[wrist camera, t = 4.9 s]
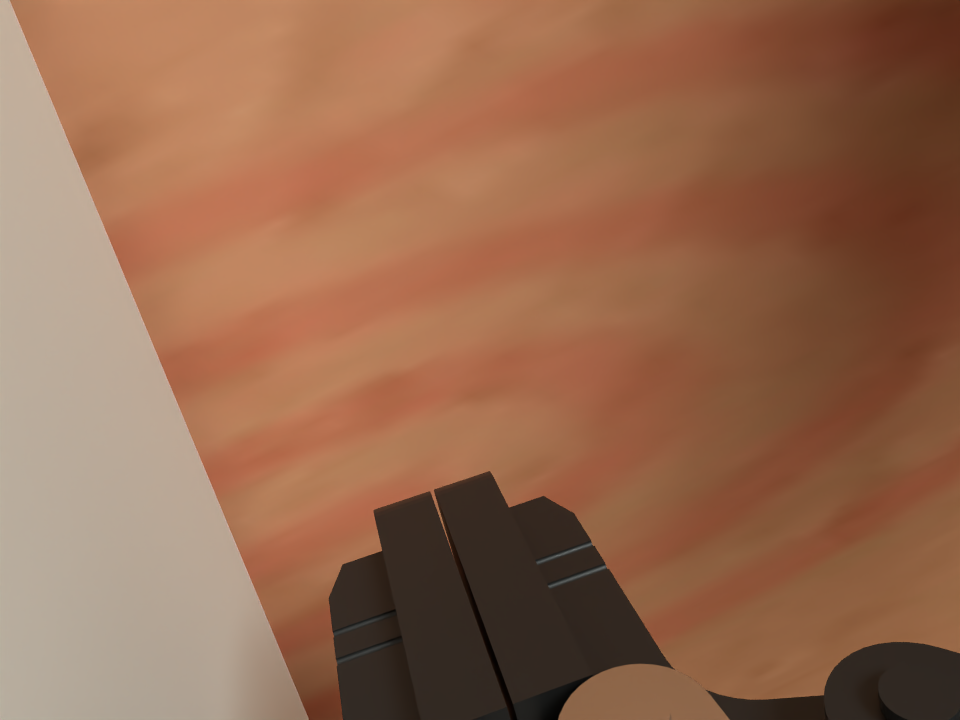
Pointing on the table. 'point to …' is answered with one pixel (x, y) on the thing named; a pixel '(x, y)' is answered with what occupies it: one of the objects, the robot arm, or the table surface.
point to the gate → (103, 472)
